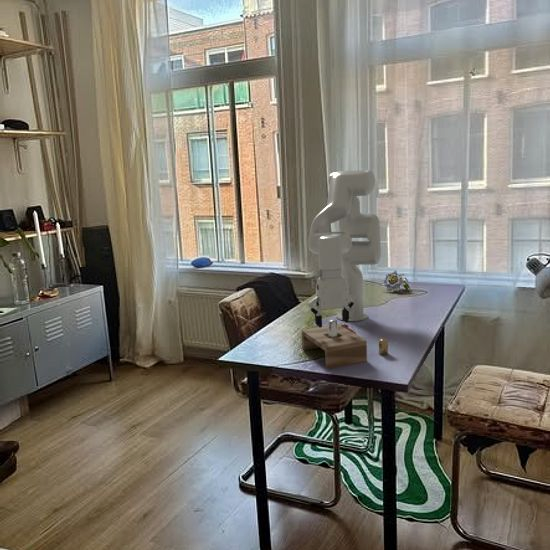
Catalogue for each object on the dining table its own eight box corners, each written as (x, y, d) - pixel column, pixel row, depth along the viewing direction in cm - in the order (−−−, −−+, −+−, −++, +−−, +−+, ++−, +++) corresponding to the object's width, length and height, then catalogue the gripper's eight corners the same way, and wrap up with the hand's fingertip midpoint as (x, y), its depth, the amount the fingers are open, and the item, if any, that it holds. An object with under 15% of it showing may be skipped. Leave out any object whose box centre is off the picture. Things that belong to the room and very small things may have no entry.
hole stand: (302, 349, 184) (301, 330, 183) (338, 342, 189) (337, 323, 187) (327, 368, 166) (326, 347, 164) (366, 361, 170) (366, 340, 169)
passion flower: (392, 303, 255) (377, 284, 253) (395, 293, 264) (381, 275, 263) (412, 292, 249) (396, 272, 248) (414, 282, 258) (399, 263, 257)
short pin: (377, 353, 177) (376, 339, 176) (384, 351, 178) (384, 337, 177) (381, 356, 174) (381, 341, 173) (389, 354, 175) (389, 340, 174)
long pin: (327, 354, 178) (326, 320, 176) (335, 352, 179) (334, 318, 177) (331, 357, 175) (330, 322, 173) (339, 355, 176) (338, 321, 174)
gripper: (311, 279, 165) (313, 331, 169) (360, 272, 171) (361, 323, 174) (301, 274, 172) (303, 325, 176) (349, 268, 178) (350, 317, 181)
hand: (332, 324), depth 175 cm, fingers open, 9 cm apart
